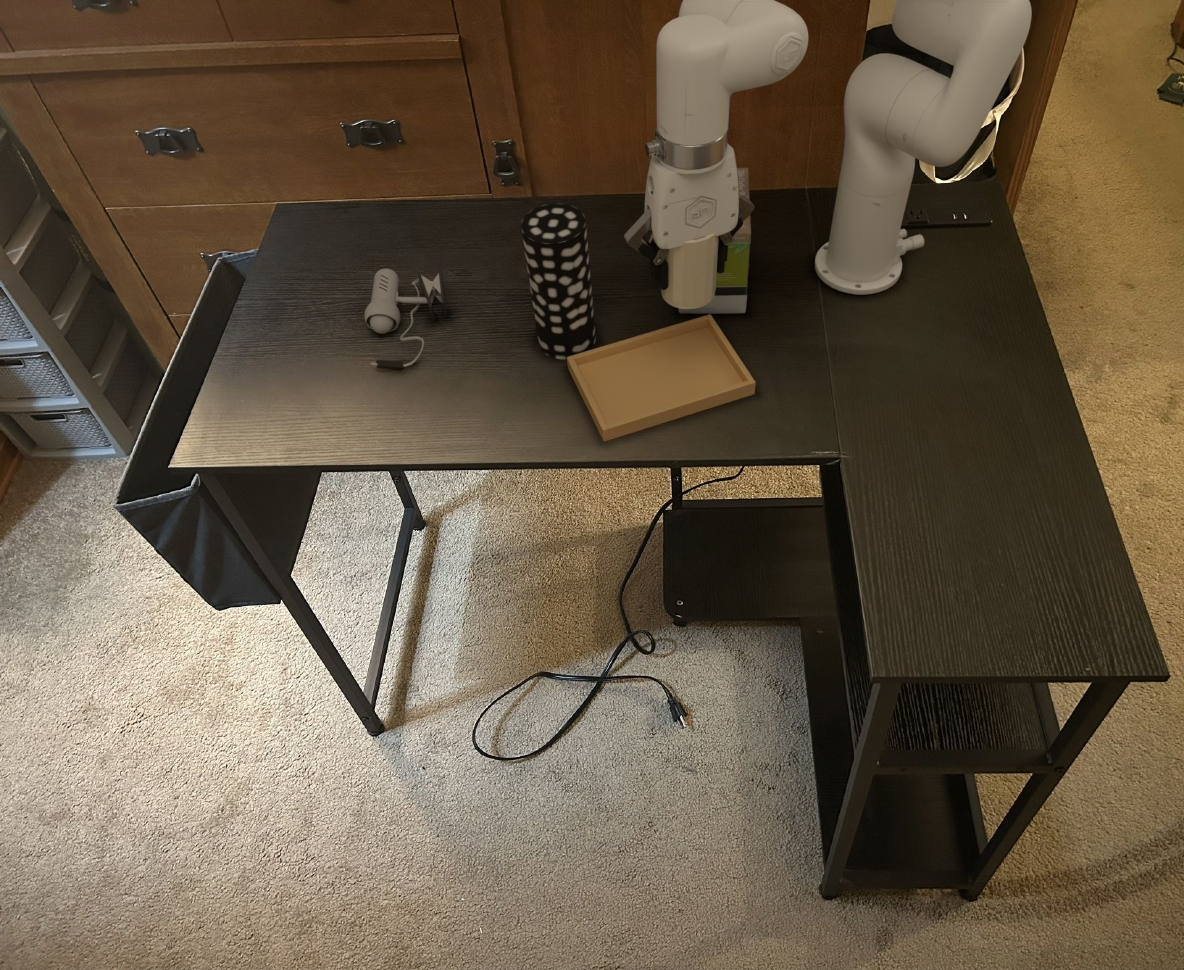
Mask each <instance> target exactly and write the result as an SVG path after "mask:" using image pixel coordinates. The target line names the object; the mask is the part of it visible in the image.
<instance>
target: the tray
mask: <svg viewBox="0 0 1184 970" xmlns="http://www.w3.org/2000/svg"><path fill="white" fill-rule="evenodd" d="M566 363H567V370H568V372H569V374H570V376H571V378H572V380H573V382H574V384H575V386H576V387H577V391H578V392H579V394H580V396H581V398H582V400H583V402H584V405H585V406H586V408H587V410H588V412H589V415H590V416H591V418H592V420H593V423H594V425H595V427H596V429H597V431H598V433H599V435H600V437H601V439H602V441H603V442H608V441H611V440H614V439H618V438H619V437H620V438H621V437H624V436H626V435H630V434H633V433H636V432H640V431H643V430H645V429H649V428H652V427H655V426H659V425H661V424H665V423H668V422H671V421H674V420H677V419H681V418H683V417H687V416H690V415H693V414H696V413H700V412H702V411H703V412H704V411H706V410H709V409H712V408H715V407H718V406H722V405H725V404H728V403H731V402H734V401H738V400H740V399H744V398H747V397H750V396H753V395H755V393H756V384H757V382H756V380H755V379H754V378H753V376H752V375H751V373H750V371H749V370H748V368H747V367H746V366H745V364H744V362H743V361H742V359H741V358H740V356H739V355H738V353H737V352H736V350H735V349H734V347H733V345H732V344H731V342H730V341H729V340H728V338H727V337H726V335H725V334H724V332H723V331H722V329H721V328H720V326H719V325H718V323H717V322H716V321H715V319H714V317H713V316H712V314H710V313H708V314H706V315H702V316H700V317H697V318H696V317H695V318H692V319H689V320H686V321H683V322H680V323H677V324H673V325H669V326H666V327H663V328H659V329H656V330H653V331H650V332H646V333H643V334H639V335H636V336H633V337H629V338H626V339H623V340H619V341H616V342H613V343H609V344H606V345H603V346H602V345H601V346H599V347H596V348H591V350H589V351H586V352H582V353H579V354H576V355H572V356H569V357H567V359H566Z"/></svg>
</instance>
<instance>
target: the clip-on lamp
mask: <svg viewBox="0 0 1184 970" xmlns="http://www.w3.org/2000/svg"><path fill="white" fill-rule="evenodd" d="M437 269H438V270H437V271H438V273H437V274H436V276H435V278H434V279H433V280H430V279H428V278H426V277H425V276H423V275H422V274H421V272H417V279H415V280H414V281H412V282H411V286H412V287H414V288H415V289H416V293H417V296H400V294H399V286H400V285H399V284H400V278H399V276H398V274H397V272H395V271H394V270H393V269H390V268H382V269H381V268H380V269H379V270H378V271H376V273H375V274H374V278H373V285H372V291H371V299H370V303H368V304H367V306H366V308H365V310H364V322H365V324H366V326H367V327H368V328H369V329H370V330H373V331H374V332H375V333H376V334H380V335H381V334H382V335H383V334H387V333H390V332H394V331H395V330H397V328H398V327H399V325H400V322H401V312H400V309H399V307H398V304H399V303H401V304H416V306H415V307H414V308H413V309H411V311H410V314H409V315H410V319H411V322H410V324H409V326H408V328H407V329H406V330H405V331H404V332H403V333H402V334H400V337H399V340H400V342H407V341H413V340H419V341H420V342H421V348H420V350H419V352H418V354H417V356H416V357H415V358H414V359H413V360H412V361H410V362H408V363H404V362H403V361H401V360H399V361H398V360H386V359H377V360H376V361H375V362H373V361H371V362H370V366H376V369H381V370H382V369H383V370H384V369H386V370H396V371H397V370H398V371H399V370H400V371H401V370H404V368H407V367H409V366H412V365H413V364H414V363H416V362H417V360H419V358H420V357H421V355H422V353H423V350H424V347H425V340H424V338H422V337H421V336H417V335H413V336H407V337H405V336H406V335H407V334H408V333H409V332H410V330H411V329H412V328H413V325H414V322H415V321H414V316H413V315H414V314H415V312H417V311H418V309H419V308H420V304H421V305H422V304H423V305H424V304H426V306H427V308H428V310H429V314H430V317H431V321H432V323H436V318H435V317H436V316H435V313H434V309H433V303H434V300H435V298H436V299H437V300H438V301H439V302H440V303H441V305H442V309H443V314H444V319H448V318H449V316H448V311H447V303H446V294H445V293H446V292H445V283H444V278H443V272H442V267H437ZM416 284H420V288H421V291H422V294H423V296H421V293H420V290H419V287H418V286H417V285H416Z"/></svg>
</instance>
